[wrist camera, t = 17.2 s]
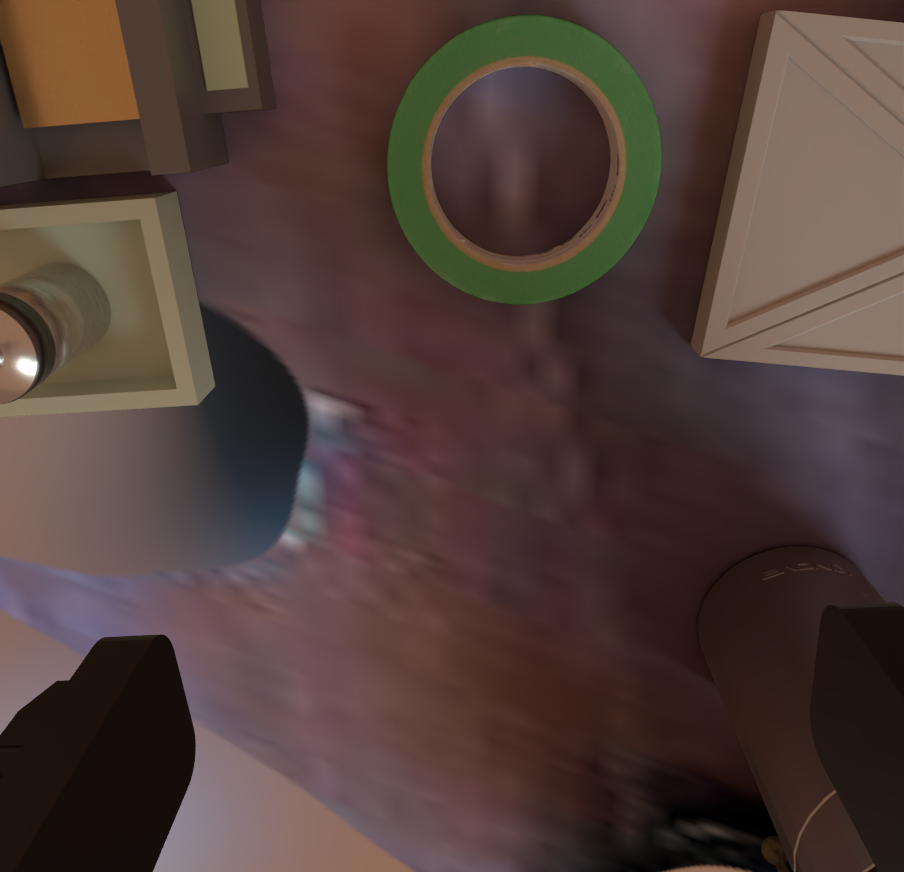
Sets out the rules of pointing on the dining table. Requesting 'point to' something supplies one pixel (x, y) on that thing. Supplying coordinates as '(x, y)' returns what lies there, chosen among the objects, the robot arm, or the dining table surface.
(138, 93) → the cradle
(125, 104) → the pad
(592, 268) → the tape roll
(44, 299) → the cell
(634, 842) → the dining table surface
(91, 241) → the trough
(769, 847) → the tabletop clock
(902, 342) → the envelope
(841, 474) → the dining table surface
